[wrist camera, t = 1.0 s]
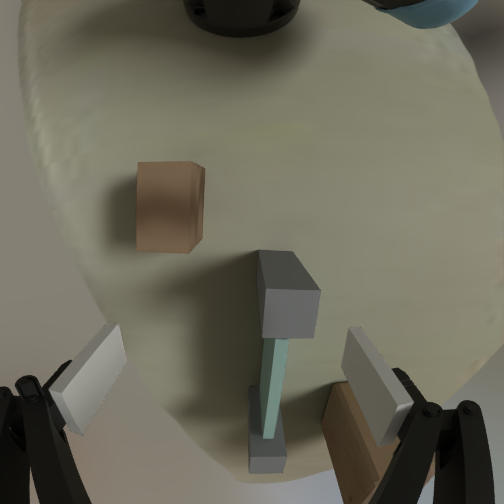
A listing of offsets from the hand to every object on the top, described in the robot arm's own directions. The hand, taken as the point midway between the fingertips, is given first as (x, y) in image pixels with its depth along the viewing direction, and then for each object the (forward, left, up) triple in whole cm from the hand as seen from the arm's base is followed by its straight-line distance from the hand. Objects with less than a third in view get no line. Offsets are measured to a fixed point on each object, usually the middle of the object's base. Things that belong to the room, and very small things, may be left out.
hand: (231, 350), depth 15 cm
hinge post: (0, +4, -19) cm, 19 cm away
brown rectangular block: (-7, -7, -19) cm, 21 cm away
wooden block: (+22, +19, -19) cm, 35 cm away
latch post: (+20, +4, -19) cm, 28 cm away
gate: (+10, +4, -18) cm, 21 cm away
